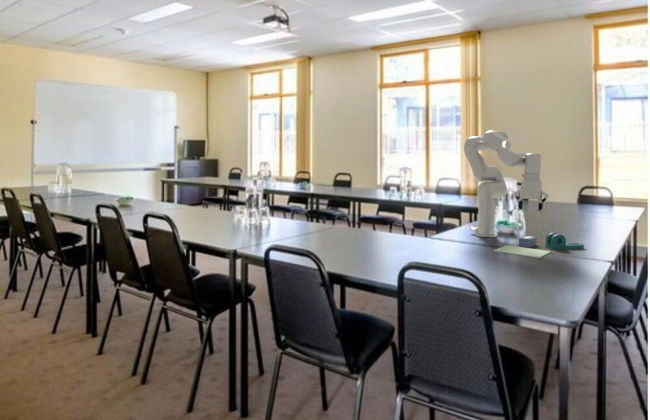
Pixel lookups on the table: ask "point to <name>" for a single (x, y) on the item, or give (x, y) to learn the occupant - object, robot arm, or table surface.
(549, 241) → the bracket
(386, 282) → the table surface
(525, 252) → the mat
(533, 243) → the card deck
